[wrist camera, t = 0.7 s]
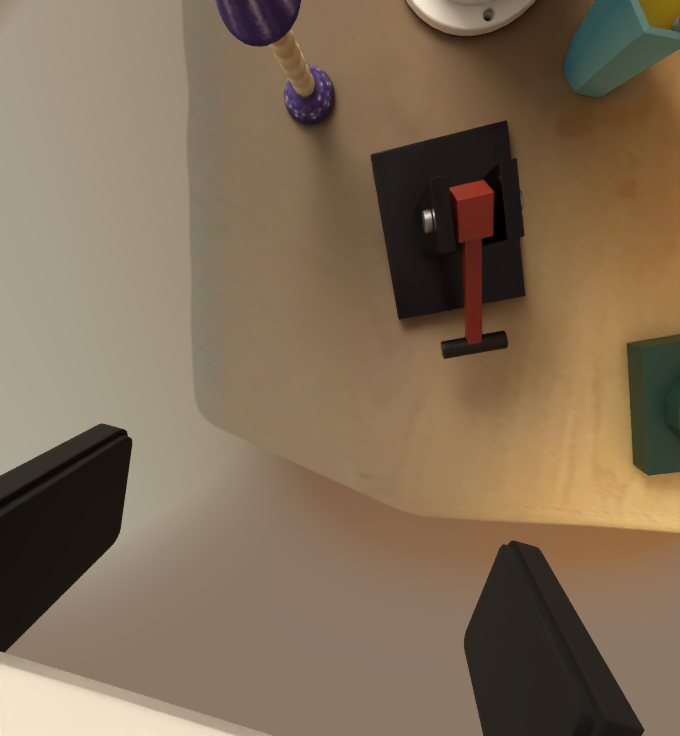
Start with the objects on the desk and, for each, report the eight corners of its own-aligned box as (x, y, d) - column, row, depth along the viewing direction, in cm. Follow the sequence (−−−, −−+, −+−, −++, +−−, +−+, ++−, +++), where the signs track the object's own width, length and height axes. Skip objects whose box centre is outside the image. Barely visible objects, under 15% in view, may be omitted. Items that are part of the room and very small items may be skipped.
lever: (500, 337, 34) (509, 355, 32) (440, 348, 35) (445, 366, 33) (506, 173, 25) (519, 185, 24) (426, 192, 26) (433, 205, 24)
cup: (652, 158, 33) (867, 67, 18) (551, 177, 34) (678, 107, 19) (652, -46, 30) (908, -350, 15) (541, -17, 31) (682, -275, 16)
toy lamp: (292, 137, 35) (214, 23, 19) (268, 83, 34) (166, -85, 18) (342, 109, 34) (305, -36, 18) (319, 52, 33) (258, -152, 17)
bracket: (520, 294, 36) (584, 305, 25) (398, 318, 38) (404, 338, 26) (502, 125, 33) (565, 49, 22) (370, 158, 35) (364, 103, 23)
